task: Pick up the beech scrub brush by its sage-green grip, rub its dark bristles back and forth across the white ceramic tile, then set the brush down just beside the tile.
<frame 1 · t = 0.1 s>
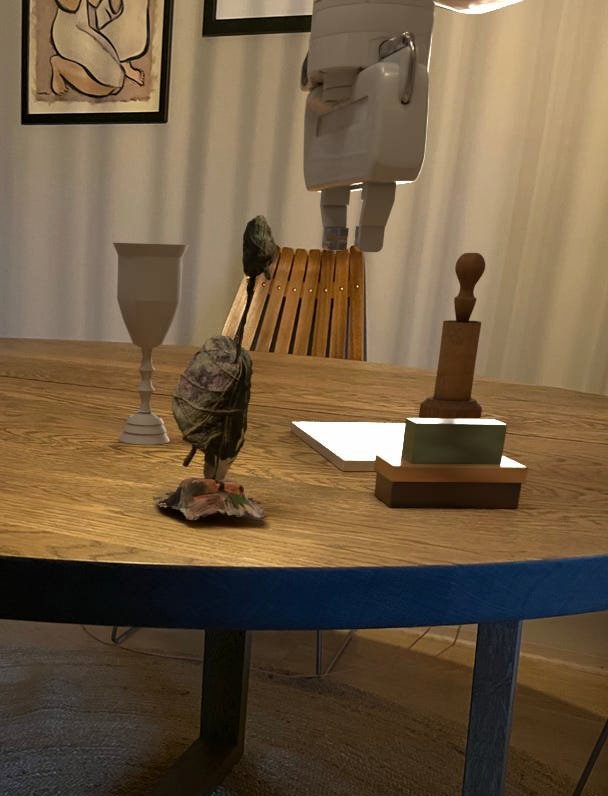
hand: (349, 251, 81), 18 cm above the table, tool pointing down, fingers open, 8 cm apart
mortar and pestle: (448, 427, 115), on the table
chalice: (144, 441, 101), on the table
brush: (444, 501, 80), on the table
tile: (385, 450, 100), on the table
plant with pod: (207, 512, 76), on the table
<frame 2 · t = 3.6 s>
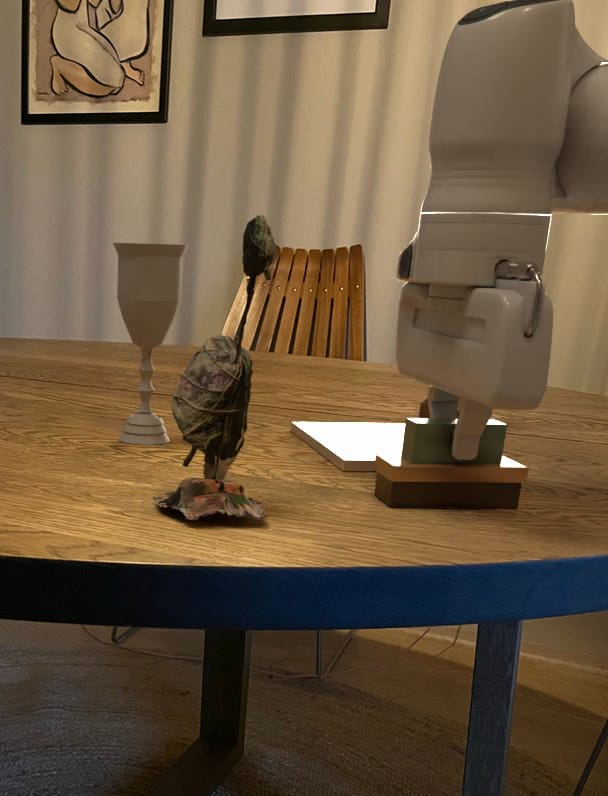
hand: (451, 452, 78), 4 cm above the table, tool pointing down, fingers closed on brush, 2 cm apart
brush: (444, 501, 80), on the table, touching gripper
everything else where it was.
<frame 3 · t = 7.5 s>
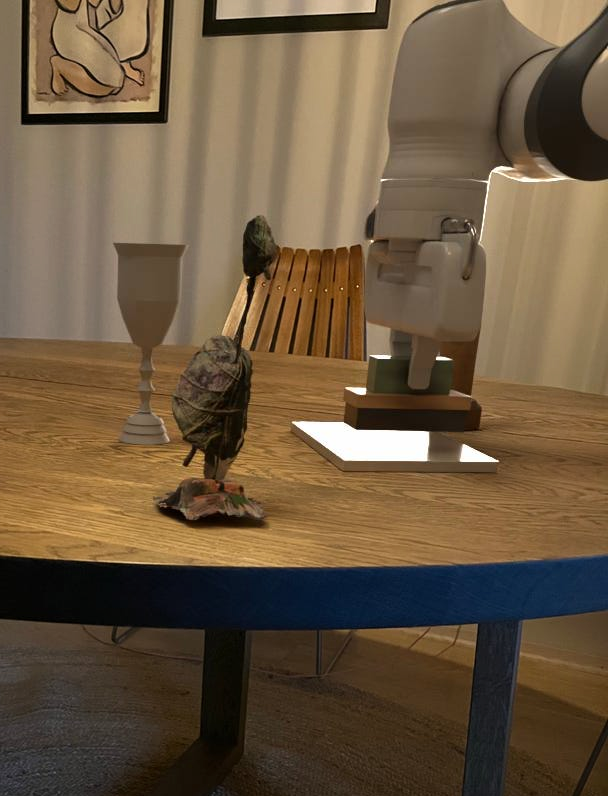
hand: (408, 385, 93), 7 cm above the table, tool pointing down, fingers closed on brush, 2 cm apart
brush: (402, 427, 94), point 3 cm above the table, touching gripper
everything else where it was.
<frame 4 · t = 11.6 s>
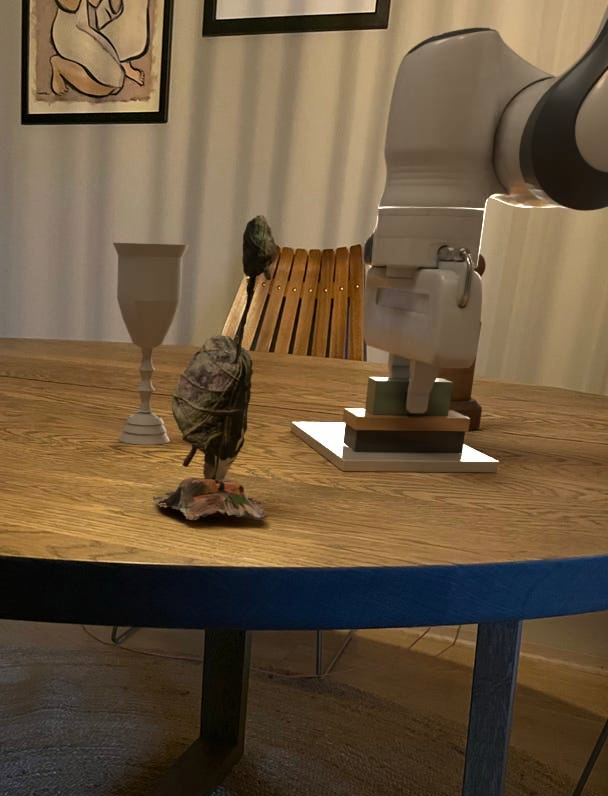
hand: (407, 408, 94), 5 cm above the table, tool pointing down, fingers closed on brush, 2 cm apart
brush: (401, 448, 95), point 1 cm above the table, touching gripper
everything else where it was.
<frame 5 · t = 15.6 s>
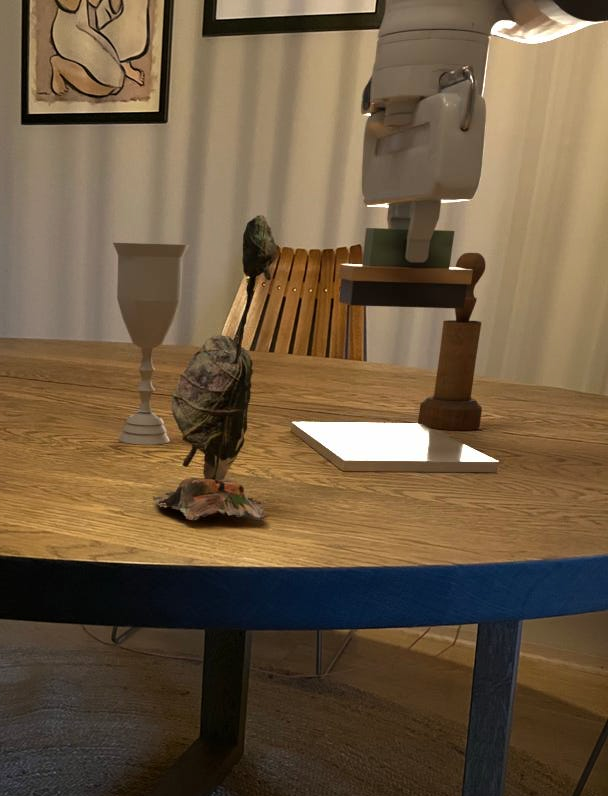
hand: (406, 261, 89), 17 cm above the table, tool pointing down, fingers closed on brush, 2 cm apart
brush: (400, 305, 90), point 14 cm above the table, touching gripper
everything else where it was.
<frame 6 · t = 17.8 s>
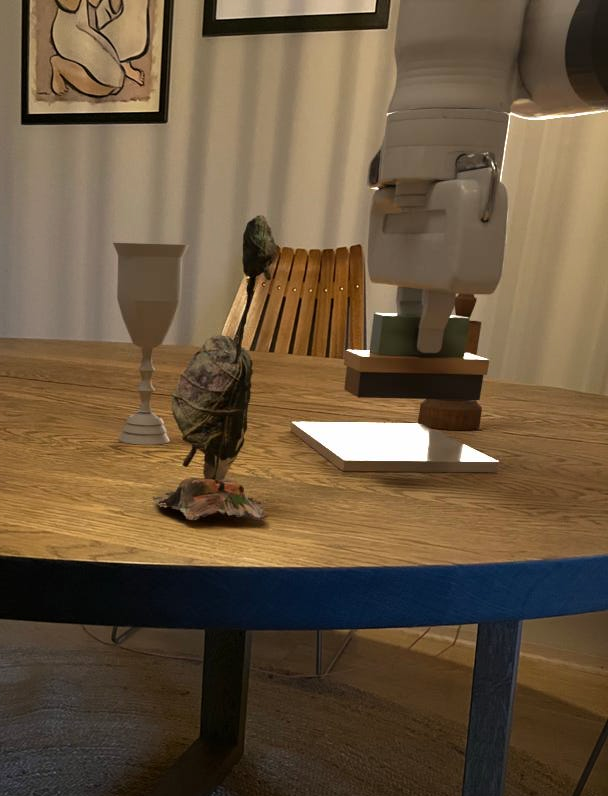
hand: (417, 349, 82), 11 cm above the table, tool pointing down, fingers closed on brush, 2 cm apart
brush: (410, 395, 84), point 7 cm above the table, touching gripper
everything else where it was.
when the fingers open (3 cm above the table, at t = 19.7 s): brush stays where it is, on the table.
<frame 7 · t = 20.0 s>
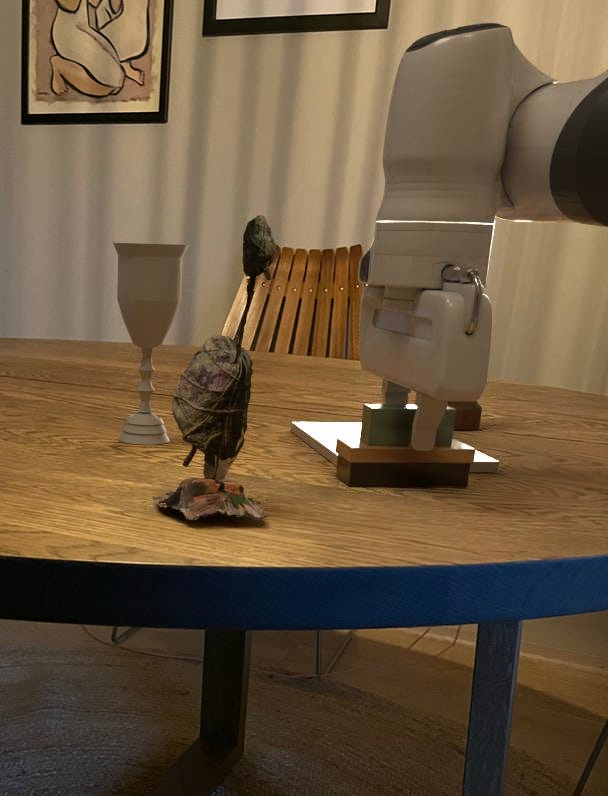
hand: (407, 442, 85), 3 cm above the table, tool pointing down, fingers open, 5 cm apart
brush: (400, 481, 86), on the table
everything else where it was.
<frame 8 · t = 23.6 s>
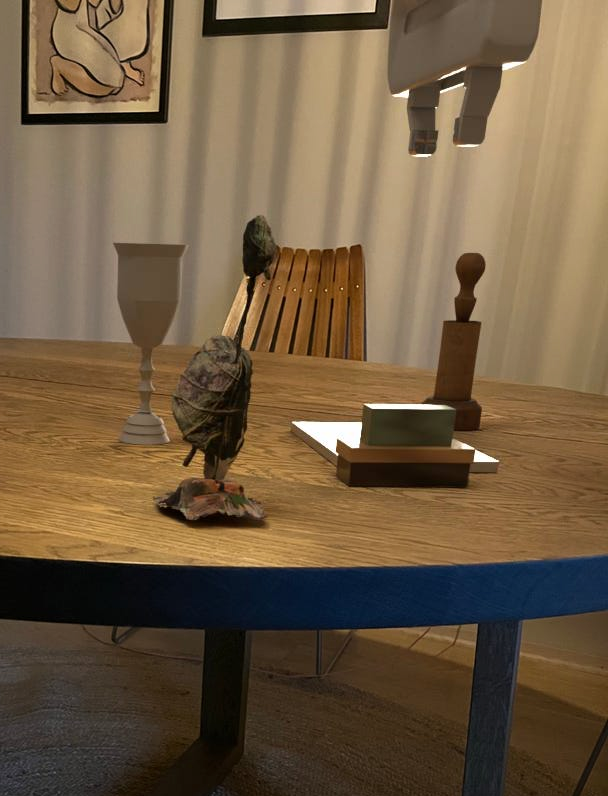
hand: (443, 151, 77), 25 cm above the table, tool pointing down, fingers open, 8 cm apart
nothing on the table moved.
at the end: brush inside the target area on the table beside the tile (0.2 cm from its centre), on the table; brush tilted 0°; the gripper is holding nothing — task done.
